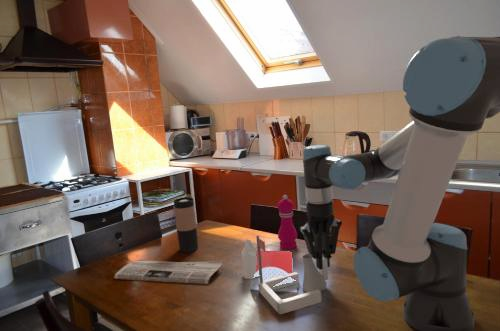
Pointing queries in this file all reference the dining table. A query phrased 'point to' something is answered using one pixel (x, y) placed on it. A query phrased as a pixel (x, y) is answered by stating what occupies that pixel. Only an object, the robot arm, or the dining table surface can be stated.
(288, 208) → the pepper mill
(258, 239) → the white u-shaped stand
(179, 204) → the travel mug
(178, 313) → the dining table surface
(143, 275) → the newspaper
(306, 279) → the flask
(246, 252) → the grey piece
